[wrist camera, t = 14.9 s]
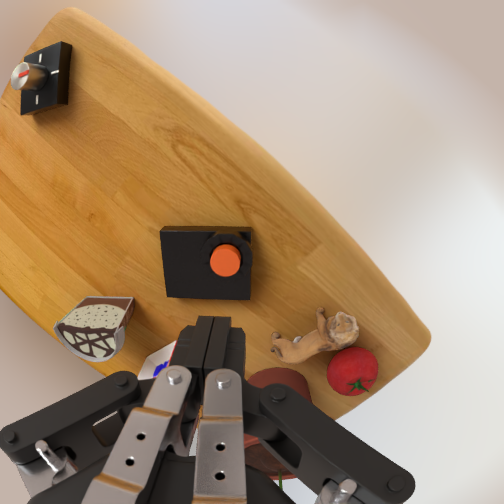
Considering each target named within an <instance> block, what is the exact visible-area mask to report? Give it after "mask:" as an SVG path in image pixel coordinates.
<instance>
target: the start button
mask: <svg viewBox="0 0 504 504" xmlns="http://www.w3.org/2000/svg"><path fill="white" fill-rule="evenodd" d="M240 261H241V255H240V253H239V251H238V249H237V248H235V247H234V246H232V245H229V244H223V245H220V246H218V247H217V248H216V249H215V250H214V252H213V254H212V257H211V260H210V265H211V268H212V269H213V271H214V272H215V273H216V274H218V275H220V276H225V277H226V276H231V275H233V274H235V273H236V272H237V271H238V269H239V267H240Z"/></svg>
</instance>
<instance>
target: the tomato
mask: <svg viewBox="0 0 504 504" xmlns="http://www.w3.org/2000/svg"><path fill="white" fill-rule="evenodd" d="M377 375H378V363H377V359H376V358H375V356H374V355H373V354H372V353H371V352H370V351H368V350H366V349H364V348H360V347H350V348H346V349H344V350H342V351H340V352H338V353H337V354H336V355H335V356H334V357H333V359H332V360H331V362H330V363H329V365H328V369H327V380H328V382H329V384H330V386H331V387H332V388H333V389H334V390H335V391H336V392H338V393H339V394H342V395H346V396H355V395H359V394H362V393H364V392H365V391H368V389H369V388H370V387H371V386H372V385H373V384H374V382H375V380H376V378H377ZM368 392H369V391H368Z"/></svg>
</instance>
